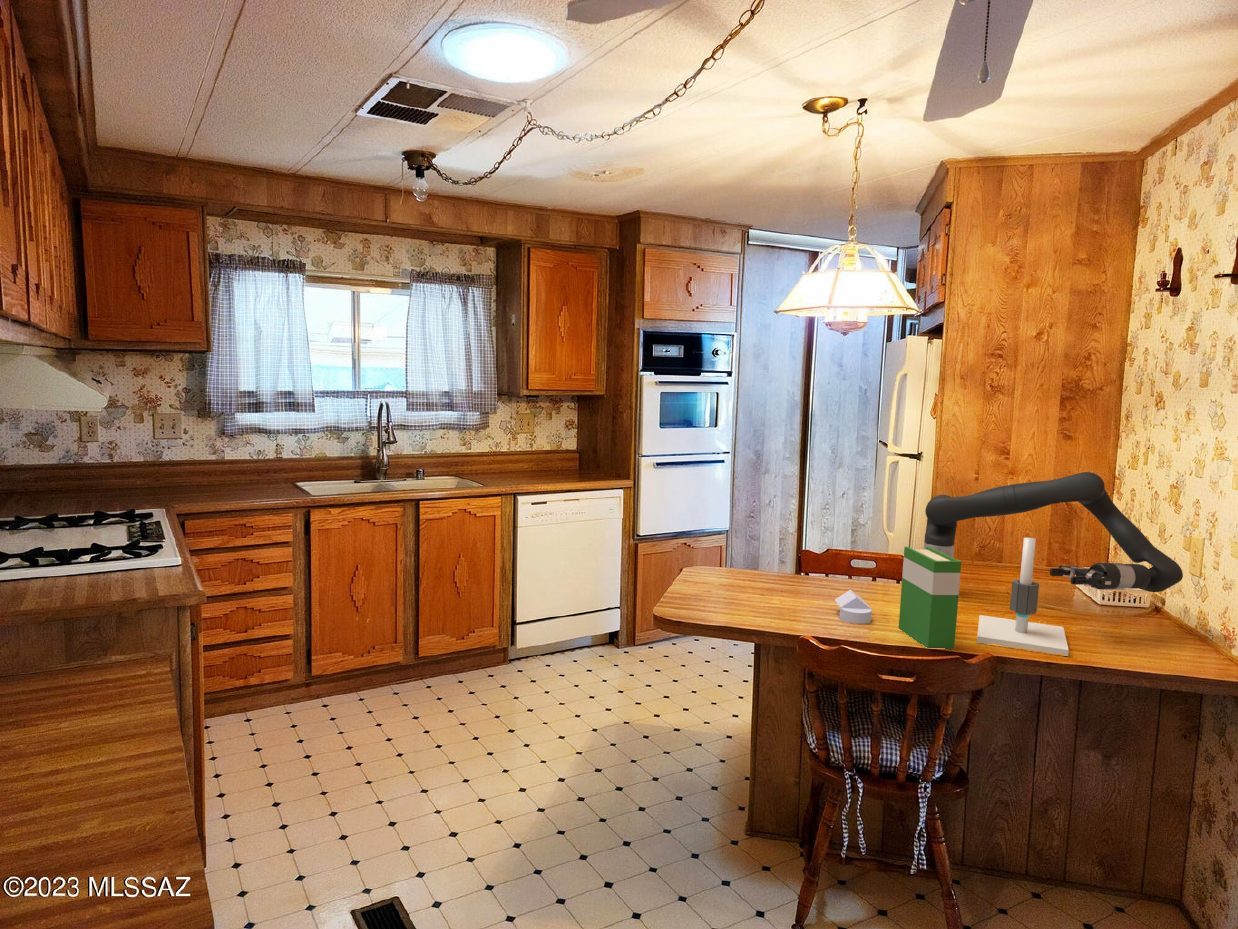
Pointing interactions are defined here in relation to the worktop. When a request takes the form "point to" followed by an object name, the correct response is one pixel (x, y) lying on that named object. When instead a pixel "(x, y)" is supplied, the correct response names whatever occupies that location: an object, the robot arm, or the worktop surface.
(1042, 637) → the post board
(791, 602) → the worktop surface
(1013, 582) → the collar
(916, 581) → the hardback book
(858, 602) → the wedge on round base
